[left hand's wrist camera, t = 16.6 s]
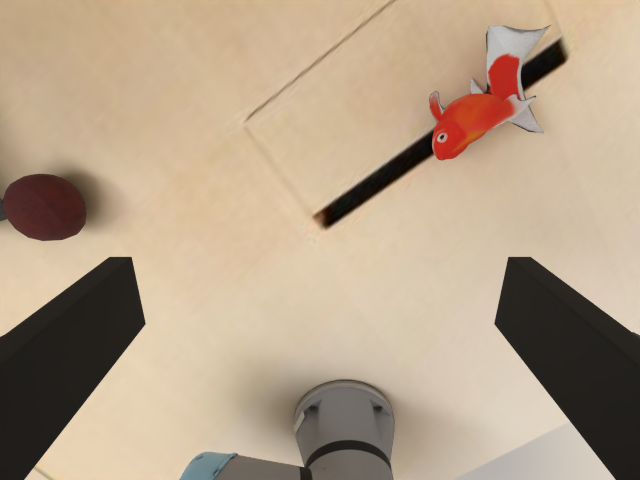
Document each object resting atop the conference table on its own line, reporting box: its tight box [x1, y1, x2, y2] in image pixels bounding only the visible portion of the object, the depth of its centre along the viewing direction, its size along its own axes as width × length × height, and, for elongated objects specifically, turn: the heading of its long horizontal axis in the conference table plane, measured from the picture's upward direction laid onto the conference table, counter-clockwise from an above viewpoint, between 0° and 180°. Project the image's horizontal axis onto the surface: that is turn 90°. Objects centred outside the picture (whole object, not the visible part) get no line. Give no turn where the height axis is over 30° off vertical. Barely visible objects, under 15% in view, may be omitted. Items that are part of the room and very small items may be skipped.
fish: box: [429, 24, 552, 161], centre depth 35 cm, size 11×16×10 cm
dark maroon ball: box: [3, 174, 86, 241], centre depth 40 cm, size 7×8×7 cm
